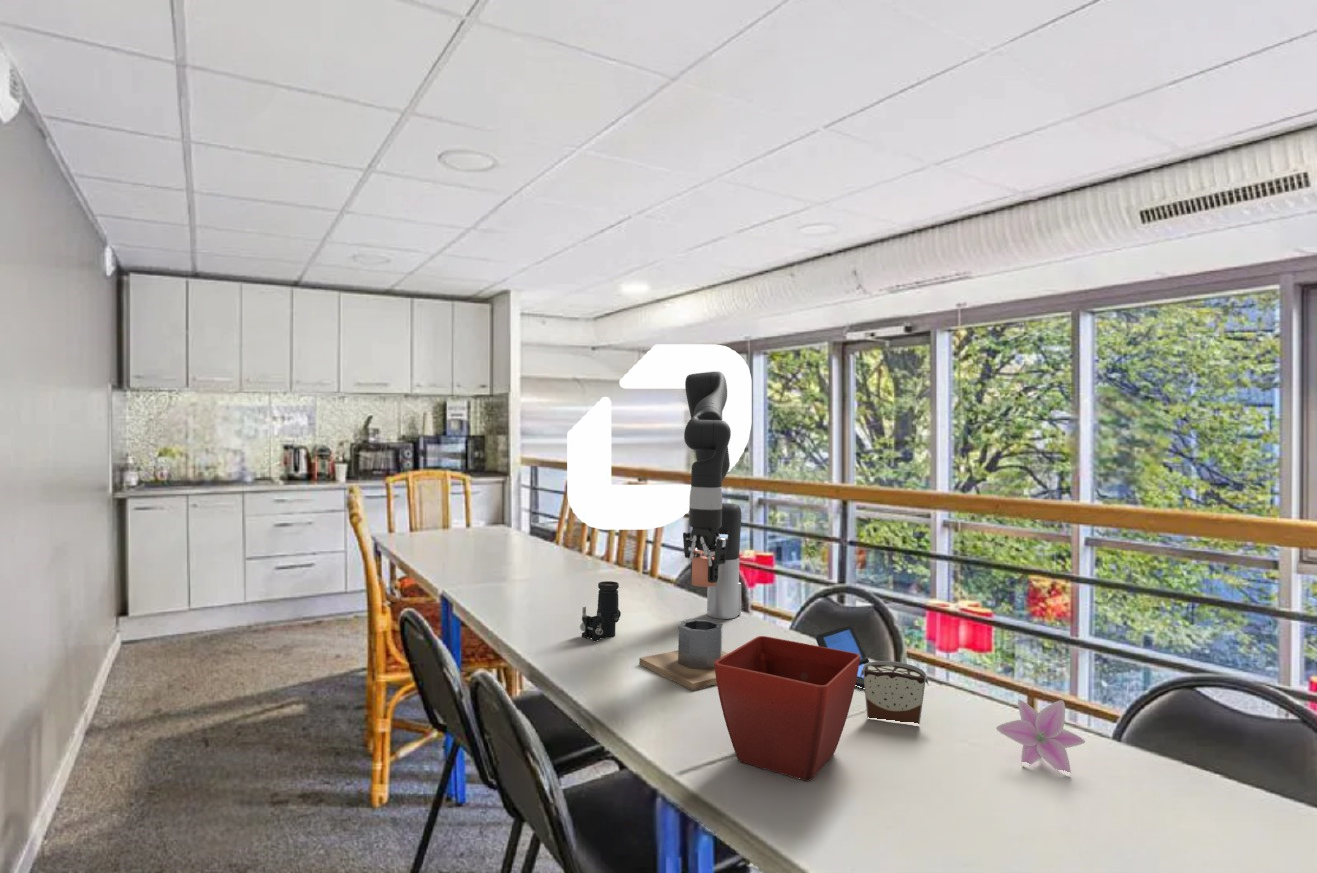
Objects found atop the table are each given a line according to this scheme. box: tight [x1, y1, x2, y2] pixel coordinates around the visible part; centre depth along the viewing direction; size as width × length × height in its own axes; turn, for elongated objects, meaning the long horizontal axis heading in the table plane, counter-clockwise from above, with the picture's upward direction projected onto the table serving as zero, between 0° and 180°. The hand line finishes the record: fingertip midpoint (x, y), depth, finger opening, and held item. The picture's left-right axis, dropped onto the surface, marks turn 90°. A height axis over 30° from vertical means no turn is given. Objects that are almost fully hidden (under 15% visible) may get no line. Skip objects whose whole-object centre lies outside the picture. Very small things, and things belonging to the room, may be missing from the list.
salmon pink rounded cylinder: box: [691, 555, 716, 588], centre depth 165 cm, size 6×6×6 cm
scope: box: [579, 580, 622, 642], centre depth 189 cm, size 8×14×10 cm
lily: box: [995, 699, 1086, 774], centre depth 121 cm, size 12×12×10 cm
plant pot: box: [714, 635, 860, 781], centre depth 120 cm, size 19×19×17 cm
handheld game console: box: [815, 624, 870, 688], centre depth 163 cm, size 16×13×9 cm
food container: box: [860, 660, 930, 724], centre depth 139 cm, size 12×6×10 cm, turn 71°
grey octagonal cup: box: [677, 619, 723, 670], centre depth 165 cm, size 10×10×8 cm
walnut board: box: [638, 649, 730, 691], centre depth 165 cm, size 20×20×2 cm
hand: (703, 579), depth 165 cm, fingers closed on salmon pink rounded cylinder, 5 cm apart
